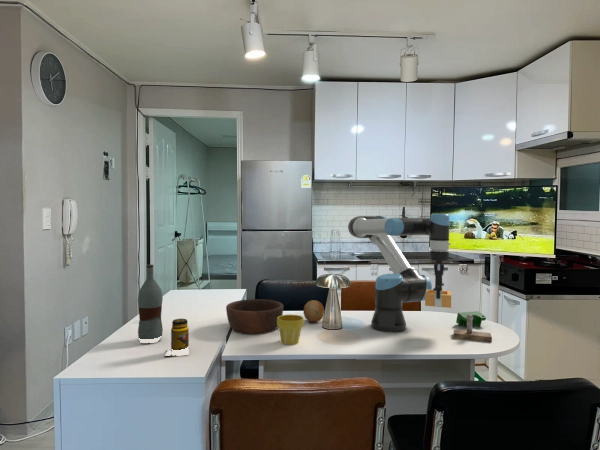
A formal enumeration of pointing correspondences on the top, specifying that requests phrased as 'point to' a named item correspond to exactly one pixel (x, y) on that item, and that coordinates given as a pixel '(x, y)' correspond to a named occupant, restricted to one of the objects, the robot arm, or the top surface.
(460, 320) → the clamp
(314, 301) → the brown oval piece
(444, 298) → the orange hollow square frame
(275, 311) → the wooden bowl
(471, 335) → the brown block with peg
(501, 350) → the top surface
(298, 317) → the plant pot
